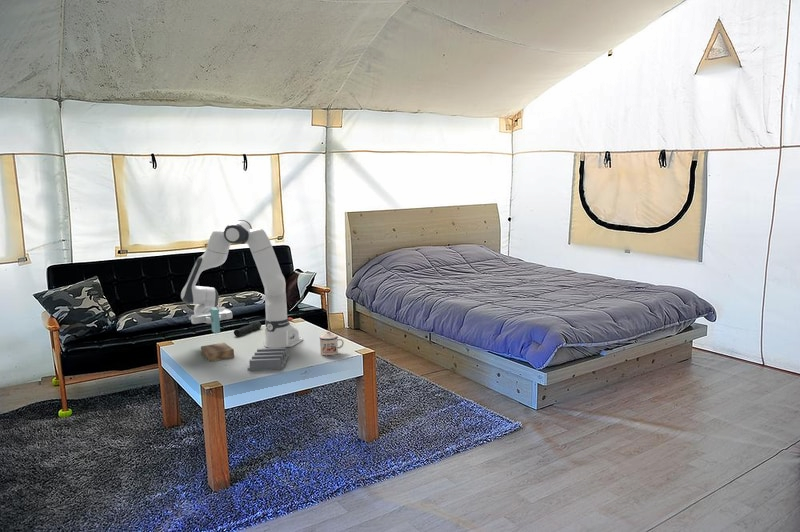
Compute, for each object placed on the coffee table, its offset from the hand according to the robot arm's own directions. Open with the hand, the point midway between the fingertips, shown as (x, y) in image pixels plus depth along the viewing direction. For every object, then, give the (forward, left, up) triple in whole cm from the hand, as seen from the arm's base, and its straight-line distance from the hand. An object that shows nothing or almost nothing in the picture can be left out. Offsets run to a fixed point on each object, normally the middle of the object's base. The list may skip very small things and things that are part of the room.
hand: (215, 319), depth 292 cm
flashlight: (-43, -19, -19) cm, 51 cm away
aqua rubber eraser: (0, -1, -7) cm, 7 cm away
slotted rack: (0, +32, -19) cm, 37 cm away
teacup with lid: (-26, +51, -19) cm, 61 cm away
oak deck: (0, -1, -19) cm, 19 cm away
